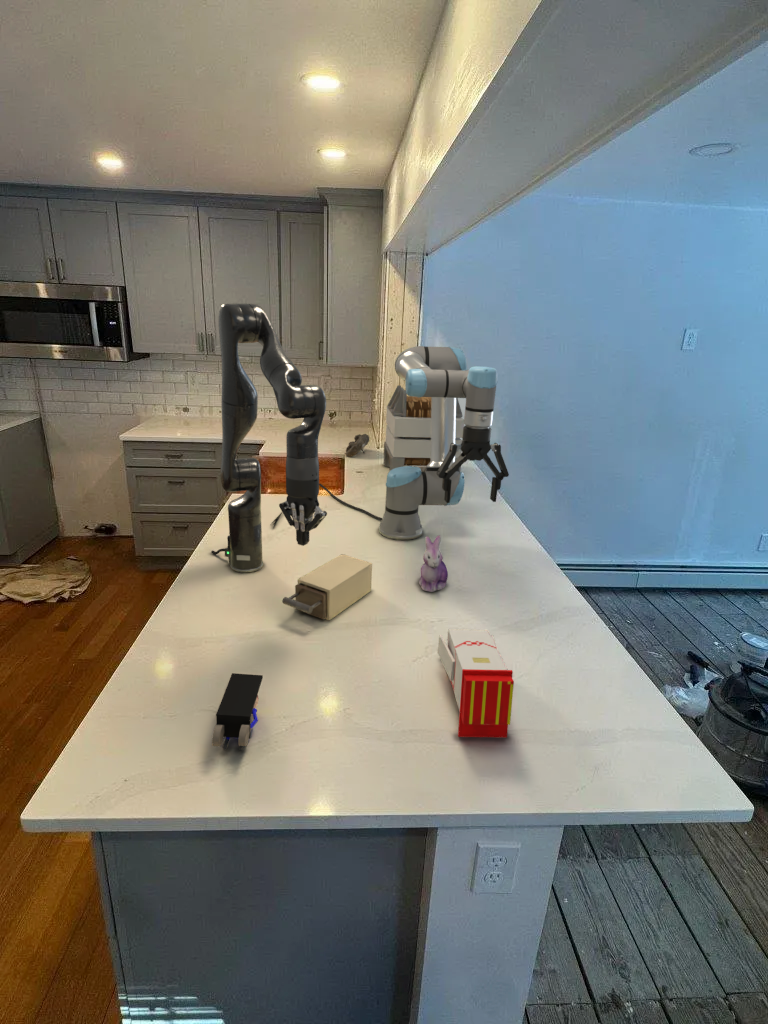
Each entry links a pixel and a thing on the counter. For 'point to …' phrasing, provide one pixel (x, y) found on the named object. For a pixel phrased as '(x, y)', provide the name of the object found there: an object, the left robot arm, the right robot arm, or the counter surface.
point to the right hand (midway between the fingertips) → (470, 501)
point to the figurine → (433, 567)
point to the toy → (478, 682)
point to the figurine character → (237, 710)
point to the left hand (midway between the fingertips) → (302, 544)
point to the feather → (276, 520)
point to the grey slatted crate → (412, 430)
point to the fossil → (357, 445)
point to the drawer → (308, 600)
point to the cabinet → (340, 582)
